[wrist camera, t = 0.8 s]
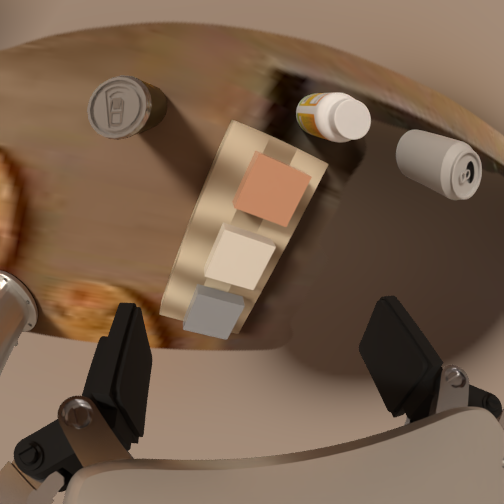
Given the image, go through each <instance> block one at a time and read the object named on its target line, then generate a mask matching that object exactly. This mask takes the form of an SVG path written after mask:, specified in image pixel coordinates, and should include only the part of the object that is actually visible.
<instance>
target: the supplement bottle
mask: <svg viewBox="0 0 504 504" xmlns="http://www.w3.org/2000/svg"><path fill="white" fill-rule="evenodd" d="M296 117H297V121H298V123H299V125H300V127H301V128H302V129H303V130H304V131H305V132H307V133H308V134H311V135H313V136H317V137H320V138H323V139H326V140H330V141H333V142H347V141H350V140H356V139H359V138H361V137H363V136H364V135H365V134H366V133H367V132H368V130H369V127H370V123H371V118H370V113H369V111H368V109H367V107H366V106H365V105H364V104H363V103H361V102H360V101H358V100H355V99H354V98H353V97H351V96H349V95H347V94H344V93H318V94H311V95H308V96H306V97H305V98H303V99H302V100H301V101H300V103H299V104H298V107H297V110H296Z"/></svg>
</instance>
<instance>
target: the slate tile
mask: <svg viewBox="0 0 504 504" xmlns="http://www.w3.org/2000/svg"><path fill="white" fill-rule="evenodd" d="M244 307H245V305H244V300H243V296H239V295H235V294H232V293H228V292H225V291H221V290H217V289H214V288H210V287H207V286H203V285H200V284H197V286H196V289H195V291H194V294H193V296H192V299H191V301H190V304H189V306H188V309H187V311H186V314H185V316H184V319H183V330H187V331H191V332H196V333H200V334H204V335H208V336H213V337H217V338H222V339H226V340H227V338H228V337H229V335H230V333H231V331H232V329H233V327H234V325H235V324H236V322H237V320H238V318H239V316H240V314H241V312H242V311H243V309H244Z"/></svg>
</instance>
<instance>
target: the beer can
mask: <svg viewBox="0 0 504 504" xmlns="http://www.w3.org/2000/svg"><path fill="white" fill-rule="evenodd" d="M87 111H88V119H89V122H90V124H91V126H92V128H93V129H94V130H95V131H96V132H97V133H98V134H100V135H102V136H104V137H107V138H109V139H117V140H119V139H124V138H128V137H131V136H133V135H135V134H138V133H140V132H143V131H145V130H148V129H150V128H152V127H154V126H156V125H157V124H159V123H160V122H161V121H162V119H163V118H164V116H165V114H166V111H167V99H166V97H165V95H164V93H163V92H162V91H161V90H160V89H159V88H157V87H155V86H153V85H151V84H148V83H146V82H144V81H142V80H139V79H137V78H135V77H132V76H123V75H122V76H118V77H113V78H111V79H109V80H107V81H105V82H104V83H102V84H100V85H99V86H98V88H97V89H96V90H95V91H94V92H93V94H92V96H91V98H90V100H89V104H88V109H87Z"/></svg>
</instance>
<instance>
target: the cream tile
mask: <svg viewBox="0 0 504 504" xmlns="http://www.w3.org/2000/svg"><path fill="white" fill-rule="evenodd" d="M275 248H276V246H275V244H274V242H273V240H272V239H270V238H267V237H264V236H262V235H259V234H256V233H253V232H250V231H247V230H244V229H242V228H239V227H236V226H233V225H230V224H227V223H224V222H223V224H222V226H221V229H220V231H219V233H218V236H217V238H216V240H215V243H214V245H213V247H212V250H211V252H210V255H209V257H208V259H207V262H206V264H205V267H204V273H205V277H208V278H212V279H215V280H219V281H222V282H226V283H229V284H233V285H236V286H240V287H243V288H247V289H250V290H254V288H255V286H256V284H257V282H258V280H259V279H260V277H261V275H262V273H263V271H264V269H265V267H266V265H267V263H268V261H269V260H270V258H271V256H272V254H273V252H274V250H275Z"/></svg>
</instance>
